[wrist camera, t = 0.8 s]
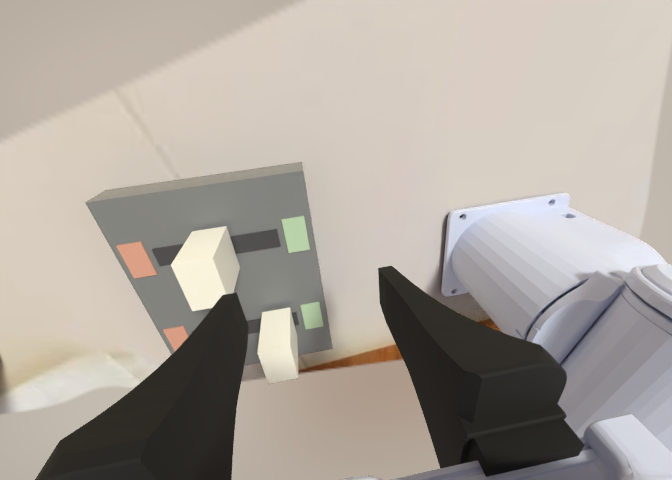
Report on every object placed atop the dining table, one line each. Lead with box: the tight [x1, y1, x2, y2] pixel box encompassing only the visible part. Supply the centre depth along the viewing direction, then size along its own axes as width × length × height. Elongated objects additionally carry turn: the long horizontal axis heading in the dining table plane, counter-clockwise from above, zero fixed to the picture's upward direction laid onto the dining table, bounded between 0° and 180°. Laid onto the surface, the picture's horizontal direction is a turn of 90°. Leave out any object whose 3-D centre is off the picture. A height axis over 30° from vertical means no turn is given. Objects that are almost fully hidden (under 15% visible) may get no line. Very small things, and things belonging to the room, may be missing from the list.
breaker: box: [257, 307, 299, 384], centre depth 20 cm, size 2×3×4 cm, turn 6°
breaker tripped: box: [171, 226, 240, 311], centre depth 17 cm, size 2×3×4 cm, turn 6°
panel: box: [85, 162, 332, 365], centre depth 21 cm, size 12×15×2 cm
